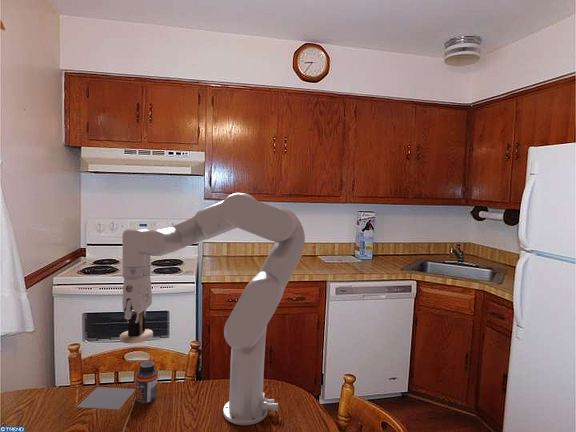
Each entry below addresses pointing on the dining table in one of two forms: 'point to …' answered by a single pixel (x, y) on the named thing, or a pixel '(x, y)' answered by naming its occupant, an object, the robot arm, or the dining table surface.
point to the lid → (141, 338)
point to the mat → (106, 398)
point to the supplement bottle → (146, 383)
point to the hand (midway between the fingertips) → (136, 332)
